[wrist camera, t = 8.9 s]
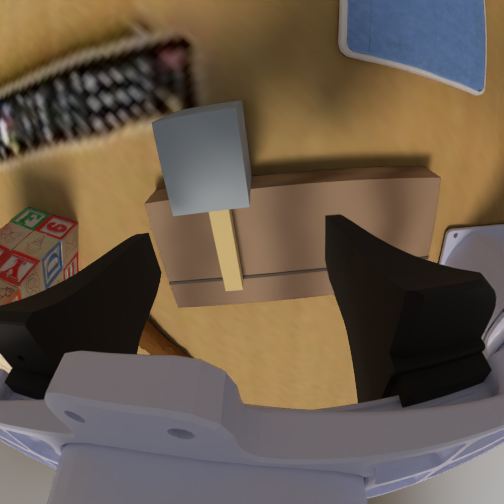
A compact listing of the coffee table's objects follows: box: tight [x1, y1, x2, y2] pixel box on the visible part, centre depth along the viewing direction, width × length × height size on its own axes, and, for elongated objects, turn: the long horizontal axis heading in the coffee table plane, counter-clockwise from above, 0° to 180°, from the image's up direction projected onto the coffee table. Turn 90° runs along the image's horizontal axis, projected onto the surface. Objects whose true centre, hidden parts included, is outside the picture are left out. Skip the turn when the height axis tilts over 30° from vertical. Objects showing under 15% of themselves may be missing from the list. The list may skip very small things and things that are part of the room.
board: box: [145, 167, 441, 308], centre depth 21 cm, size 20×9×3 cm, turn 97°
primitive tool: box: [139, 320, 190, 358], centre depth 30 cm, size 19×6×4 cm, turn 28°
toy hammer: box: [152, 100, 252, 291], centre depth 18 cm, size 4×12×6 cm, turn 7°
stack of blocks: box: [0, 207, 78, 373], centre depth 22 cm, size 21×6×12 cm, turn 162°
